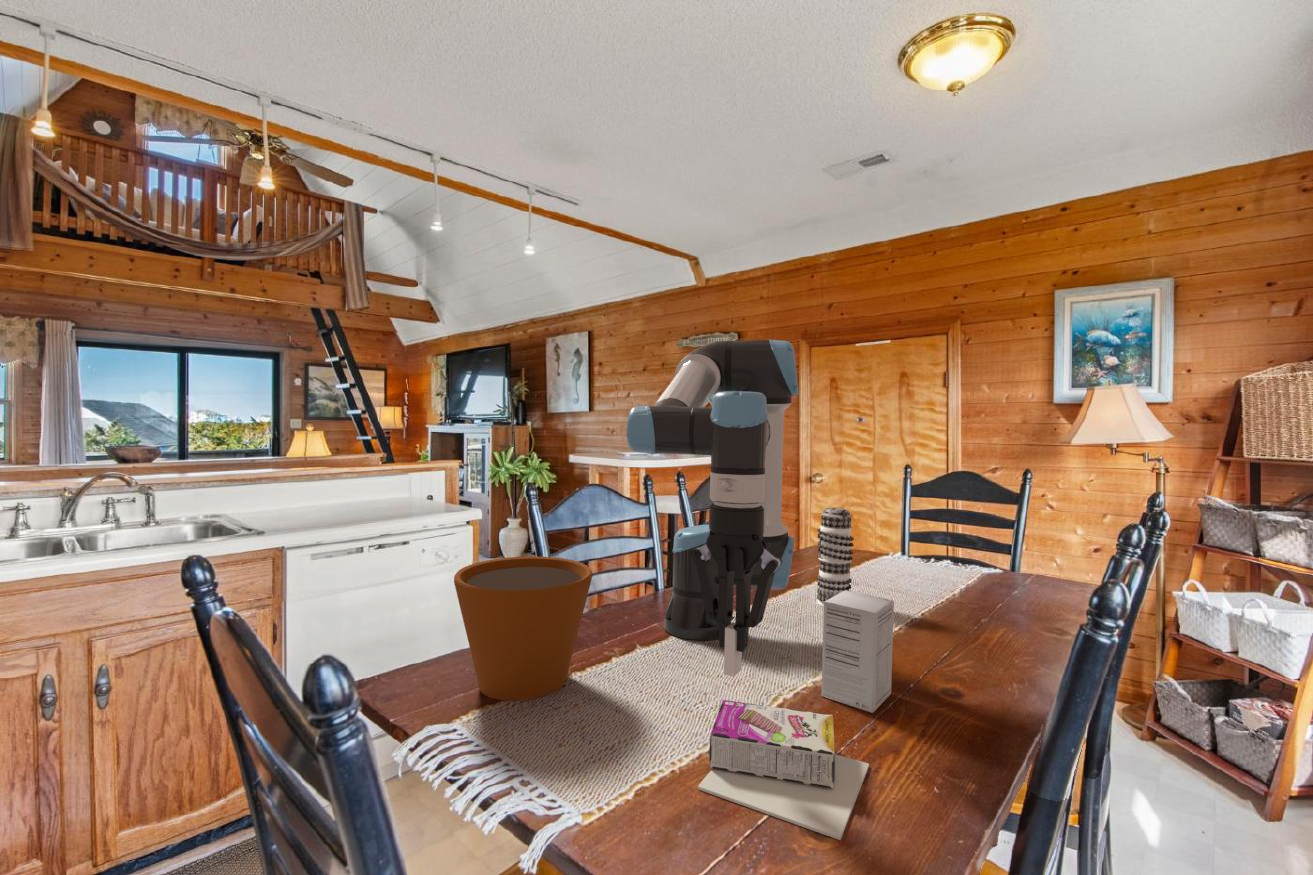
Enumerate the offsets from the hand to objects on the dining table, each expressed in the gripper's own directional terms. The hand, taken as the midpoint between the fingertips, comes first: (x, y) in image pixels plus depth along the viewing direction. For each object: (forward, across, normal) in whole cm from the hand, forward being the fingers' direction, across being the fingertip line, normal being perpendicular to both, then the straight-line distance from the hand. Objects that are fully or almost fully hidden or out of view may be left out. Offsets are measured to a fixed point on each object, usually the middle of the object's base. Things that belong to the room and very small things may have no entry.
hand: (732, 671), depth 84 cm
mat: (+12, +8, 0) cm, 15 cm away
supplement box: (+13, +11, +30) cm, 34 cm away
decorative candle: (+13, -5, +81) cm, 82 cm away
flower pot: (+13, -41, +3) cm, 43 cm away
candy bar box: (+10, -3, +1) cm, 10 cm away
